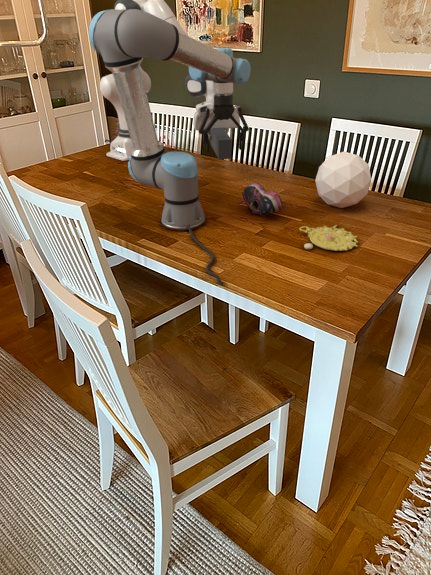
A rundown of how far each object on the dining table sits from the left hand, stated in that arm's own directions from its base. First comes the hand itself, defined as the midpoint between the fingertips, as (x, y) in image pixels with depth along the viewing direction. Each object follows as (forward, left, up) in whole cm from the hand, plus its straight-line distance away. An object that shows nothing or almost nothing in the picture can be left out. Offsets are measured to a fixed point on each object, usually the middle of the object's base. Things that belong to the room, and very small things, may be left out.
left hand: (217, 139), depth 195 cm
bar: (+6, -7, -3) cm, 9 cm away
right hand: (+12, -14, 0) cm, 18 cm away
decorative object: (+69, -41, -14) cm, 82 cm away
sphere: (+62, -12, -14) cm, 65 cm away
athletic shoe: (+38, -32, -14) cm, 52 cm away
